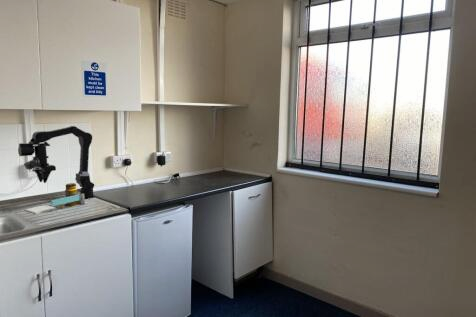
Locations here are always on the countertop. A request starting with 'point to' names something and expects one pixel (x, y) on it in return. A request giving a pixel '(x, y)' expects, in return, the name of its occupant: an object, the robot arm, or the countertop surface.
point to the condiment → (71, 194)
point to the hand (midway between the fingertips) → (42, 182)
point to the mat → (40, 209)
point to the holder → (78, 202)
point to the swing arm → (65, 200)
